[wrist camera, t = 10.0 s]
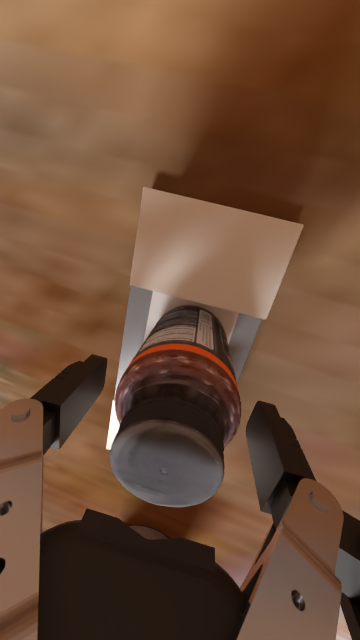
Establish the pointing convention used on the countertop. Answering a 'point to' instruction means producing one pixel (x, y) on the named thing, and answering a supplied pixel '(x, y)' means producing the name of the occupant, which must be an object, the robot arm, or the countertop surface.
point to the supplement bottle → (176, 411)
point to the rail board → (203, 271)
